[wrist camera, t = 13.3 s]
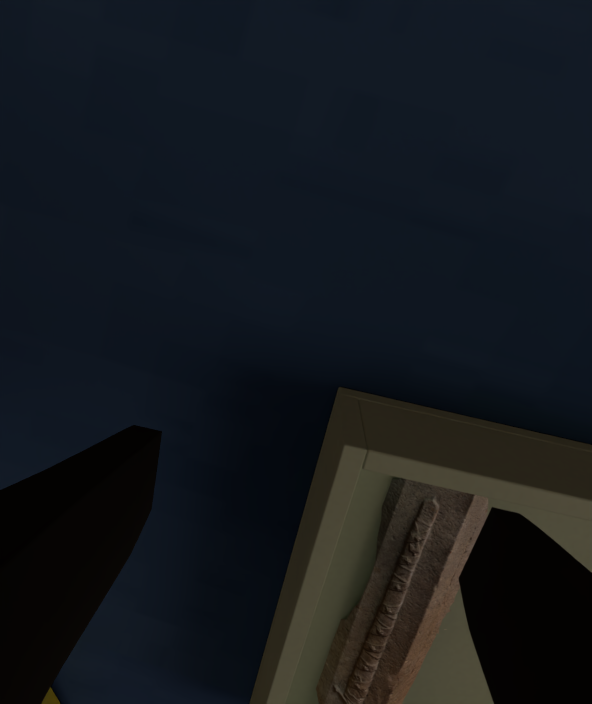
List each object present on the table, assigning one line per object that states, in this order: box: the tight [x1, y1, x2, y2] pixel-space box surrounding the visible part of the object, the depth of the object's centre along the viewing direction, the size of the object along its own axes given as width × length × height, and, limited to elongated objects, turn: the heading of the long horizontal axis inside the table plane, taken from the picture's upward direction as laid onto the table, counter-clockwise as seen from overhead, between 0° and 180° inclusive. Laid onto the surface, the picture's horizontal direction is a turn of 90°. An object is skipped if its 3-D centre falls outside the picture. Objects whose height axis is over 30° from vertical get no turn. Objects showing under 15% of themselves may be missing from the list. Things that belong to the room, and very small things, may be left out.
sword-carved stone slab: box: [316, 478, 488, 704], centre depth 21 cm, size 18×3×4 cm
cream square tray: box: [249, 387, 592, 704], centre depth 20 cm, size 22×22×5 cm
